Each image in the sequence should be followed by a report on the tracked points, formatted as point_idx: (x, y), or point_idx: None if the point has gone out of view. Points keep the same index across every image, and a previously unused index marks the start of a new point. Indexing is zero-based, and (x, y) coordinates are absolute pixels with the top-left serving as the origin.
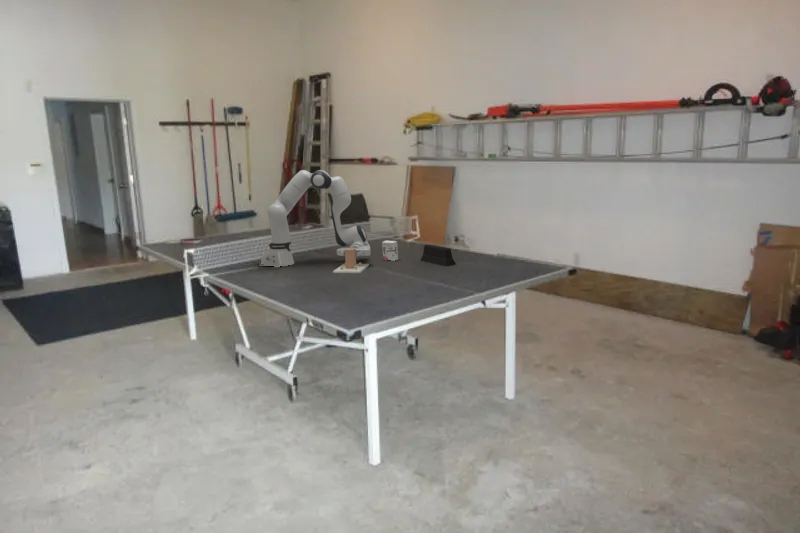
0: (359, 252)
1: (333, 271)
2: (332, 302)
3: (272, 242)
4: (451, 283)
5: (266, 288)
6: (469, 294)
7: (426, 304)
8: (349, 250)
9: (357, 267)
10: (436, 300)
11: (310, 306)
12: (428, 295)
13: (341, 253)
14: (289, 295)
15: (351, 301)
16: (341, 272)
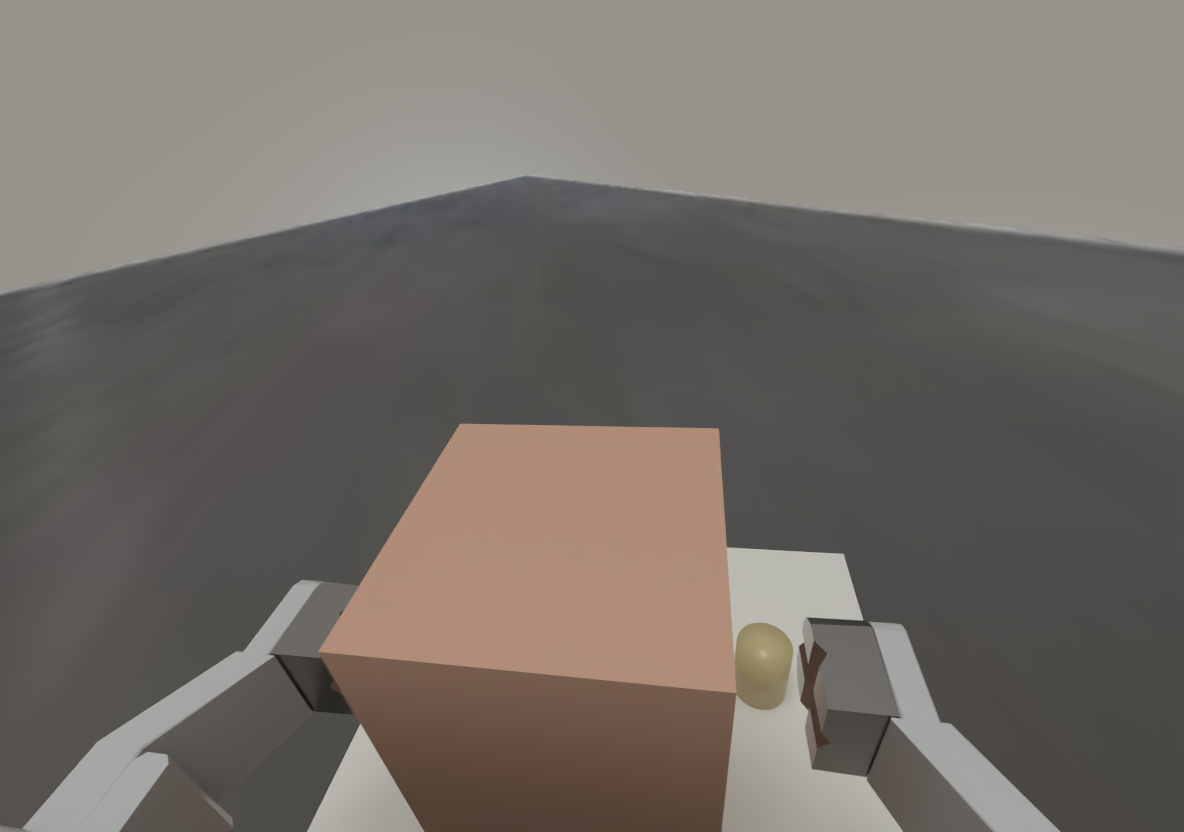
0: (268, 626)
1: (834, 555)
2: (593, 219)
3: None
4: None
5: (1060, 264)
6: (85, 278)
7: (296, 233)
8: (567, 437)
9: None
10: (244, 248)
11: (658, 204)
12: (234, 266)
13: (887, 624)
14: (811, 233)
15: (527, 227)
16: None
